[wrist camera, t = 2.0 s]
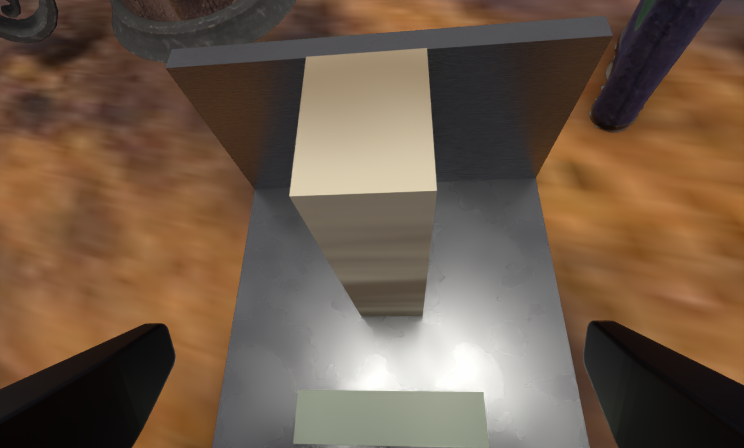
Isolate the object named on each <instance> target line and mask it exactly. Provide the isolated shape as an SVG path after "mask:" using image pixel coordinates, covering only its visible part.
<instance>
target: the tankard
mask: <svg viewBox="0 0 744 448" xmlns="http://www.w3.org/2000/svg"><path fill="white" fill-rule="evenodd" d="M7 1H8V2H9V3H10V5H4V6H1V10H2V12H3V13H4V14H6V15H7V16H8V17H10V18H6V17H4V16H1V15H0V37H1V38H4V39H7V40H10V41H15V42H22V43H32V42H38V41H41V40H43V39H45V38H46V37H48V36H50V34H51V33H52V32H53V30H54V29H55V28H56V26H57V19H58V9H57V6H56V2H55V0H39V8H38V9H37V10H36V12H35V13H34V14H33V15H32V16H30V17H28V18H26V19H20V20H17V19H11V18H15V17H17V16H18V15H19V14H20V13H21V7H20V4H19V1H18V0H7ZM110 2H111V5H112V8H113V12H112V27H113V30H114V34H115V36H116V38H117V39H118V40H119V42H120V43H121V45H122V46H123V47H125V48H126V49H127V50H129V51H130V52H131V53H133V54H135V55H137V56H140V57H142V58H145V59H147V60H152V61H158V62H163V63H167V62H168V59H169V56H170V53H171V50H172V49H182V48H195V47H208V46H221V45H234V44H247V43H252V42H253V41H255V40H257V39H258V38H260V37H262V36H264V35H265V34H266V33H267V32H269V31H270V30H271V29H272V28H274V27H275V26H276V25H277V24H279V22H280V21H281V20H282V19H283V18H284V17H285V16H286V15H287V14H288V12H289V11H290V10H291V8H292V7H293V5H294V3H295V2H296V0H110Z"/></svg>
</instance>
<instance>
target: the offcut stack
mask: <svg viewBox="0 0 744 448" xmlns="http://www.w3.org/2000/svg"><path fill="white" fill-rule="evenodd" d="M293 444H329V445H371V446H412V447H453V448H489V441H488V431H487V421H486V412H485V402H484V392H449V391H355V390H298V394H297V406H296V417H295V429H294V440H293Z"/></svg>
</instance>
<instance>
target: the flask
mask: <svg viewBox="0 0 744 448" xmlns="http://www.w3.org/2000/svg"><path fill="white" fill-rule="evenodd" d="M721 1H722V0H640V2H639V4H638V6H637V8H636V9H635V11H634V13H633V15H632V16H631V18H630V20H629V22H628V24H627V26H626V27H625V28H624V29H623V31H622V33H621V35H620V38H619V41H618V43H617V44H616V45H615V48H614V49H616V54H615V56H614V59H613V60H612V62H610V63H609V66H608V68H606V69H607V71H606V73H605V74H606V76H607V77H606V78H607V80H608V81H607V82H606V84H605V85H603V86H600V87H601V90H602V91H601V93H600V95H599V96H598V98H597V99H595V100H596V101H595V103H594V104H593V105H592V109H591V111H590V113H589V115H590V118H591V120H592V122H593V123H594V124H595V128H601V129H603V130H606V131H609V132H621V131H623V130H625V129H627V128H628V126H629V125H630V124H632V123H633V122H634V121H635V120H636V117H637V116H638V114H639V112H640V111H641V109H643V107H644V104H645V102H646V101H647V100H648V98H649V97H650V95H651V94H652V93H653V91H654V90H655V89H656V87H657V86H658V85H659V83H660V82H661V81H662V79H663V78H664V77H665V76H666V74H667V73H668V72H669V70H670V69H671V67H672V66H673V65H674V63H675V62H676V61H677V60H678V58H679V57H680V56H681V54H682V53H683V51H684V50H685V49H686V47H687V46H688V45H689V43H690V42H691V41H692V39H693V38H694V37H695V35H696V34H697V32H698V31H699V30H700V28H701V27H702V26H703V24H704V23H705V22H706V21H707V19H708V18H709V17H710V15H711V14H712V12H713V11H714V10H715V8H716V7H717V6H718V5H719V4H720V2H721Z"/></svg>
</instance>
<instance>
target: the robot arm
mask: <svg viewBox="0 0 744 448" xmlns="http://www.w3.org/2000/svg"><path fill="white" fill-rule="evenodd" d="M583 361H584V365H585V368H586V371H587V373H588V376H589V378H590V381H591V383H592V385H593V388H594V390H595V393H596V395H597V398H598V400H599V403H600V405H601V408H602V410H603V413H604V415H605V418H606V420H607V423H608V425H609V427H610V430H611V432H612V434H613V437H614V439H615V441H616V443H617V445H618V447H619V448H744V385H742V384H740V383H738V382H736V381H734V380H732V379H730V378H728V377H726V376H724V375H722V374H720V373H718V372H716V371H714V370H712V369H710V368H708V367H706V366H704V365H702V364H700V363H698V362H696V361H694V360H692V359H690V358H688V357H686V356H684V355H681V354H679V353H677V352H675V351H673V350H671V349H669V348H667V347H665V346H663V345H661V344H659V343H657V342H655V341H653V340H651V339H649V338H647V337H645V336H643V335H641V334H639V333H637V332H635V331H633V330H631V329H629V328H627V327H625V326H623V325H621V324H619V323H617V322H614V321H610V320H604V321H591V322H590V323H589V325H588V327H587V333H586V339H585V346H584V352H583ZM174 363H175V351H174V347H173V344H172V340H171V337H170V334H169V330H168V328H167V326H166V325H164V324H162V323H149V324H144V325H141V326H139V327H137V328H135V329H132V330H130V331H128V332H126V333H123V334H121V335H119V336H117V337H115V338H112V339H110V340H108V341H106V342H104V343H101V344H99V345H97V346H95V347H92V348H90V349H88V350H86V351H84V352H81V353H79V354H77V355H75V356H73V357H70V358H68V359H66V360H64V361H62V362H59V363H57V364H55V365H53V366H50V367H48V368H46V369H44V370H42V371H39V372H37V373H35V374H33V375H31V376H28V377H26V378H24V379H22V380H20V381H17V382H15V383H13V384H11V385H8V386H6V387H4V388H2V389H0V448H132V447H133V445H134V443H135V442H136V440H137V438H138V436H139V435H140V433H141V431H142V429H143V427H144V425H145V423H146V421H147V419H148V417H149V415H150V413H151V411H152V409H153V407H154V405H155V403H156V401H157V399H158V397H159V395H160V393H161V391H162V389H163V387H164V384H165V382H166V380H167V378H168V376H169V374H170V372H171V370H172V368H173V366H174Z"/></svg>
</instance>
